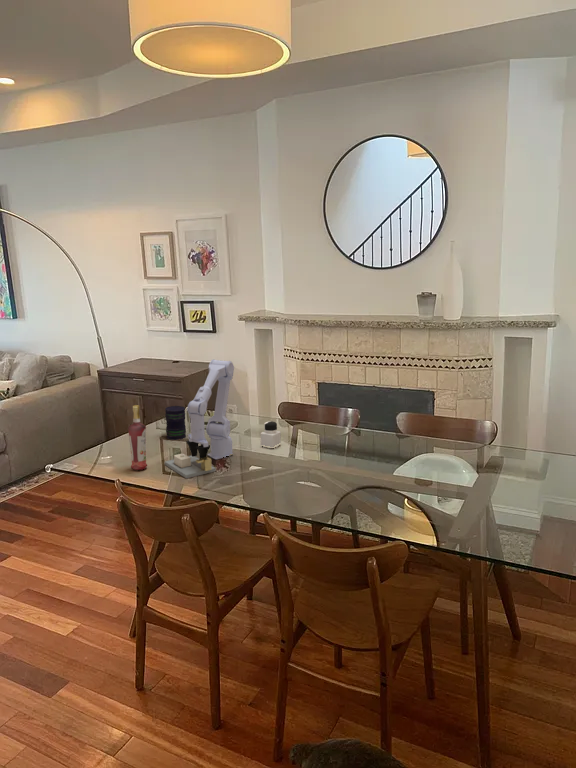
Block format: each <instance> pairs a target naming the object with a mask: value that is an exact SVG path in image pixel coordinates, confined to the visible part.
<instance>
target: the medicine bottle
mask: <svg viewBox="0 0 576 768" xmlns="http://www.w3.org/2000/svg"><path fill="white" fill-rule="evenodd" d="M263 428H264V429H263V430H264V431H262V432H260V446H261V445H265V446H270V447H274V446H275V445H277V444H279V443H281V442H282V441H281V439H282V438H281V435H282V434H281V431H280V430H278V424H277V422H275V421H273V420H272V421H266V422H264V425H263Z"/></svg>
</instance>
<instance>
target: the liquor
mask: <svg viewBox="0 0 576 768" xmlns="http://www.w3.org/2000/svg"><path fill="white" fill-rule="evenodd" d="M132 412H133V421H132V423H131V424H129V425H128V427H127V428H128V429H127V430H128V438H129V439H128V440H129V447H130V457H131V459H130V460H131V465H130V467H131V469H133V470H134V471H137V470H140V471H144V470H145V469H146V468H147V467H148V464H147V456H146V455H147V447H146V446H147V426H146V425H145V424H144V423H141V417H140V405H138V404H135V405H132ZM143 469H144V470H143Z"/></svg>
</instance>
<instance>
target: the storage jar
mask: <svg viewBox="0 0 576 768" xmlns="http://www.w3.org/2000/svg"><path fill="white" fill-rule="evenodd" d="M164 416H165V421H166V423H165V424H166V427H165V433H166V439H168V440H171V441H178V440H179V439H180V440H184V439H186V437H187V435H186V433H187V429H186V407H185V406H183V405H170V406H166V407H165V415H164ZM183 438H184V439H183Z"/></svg>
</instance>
